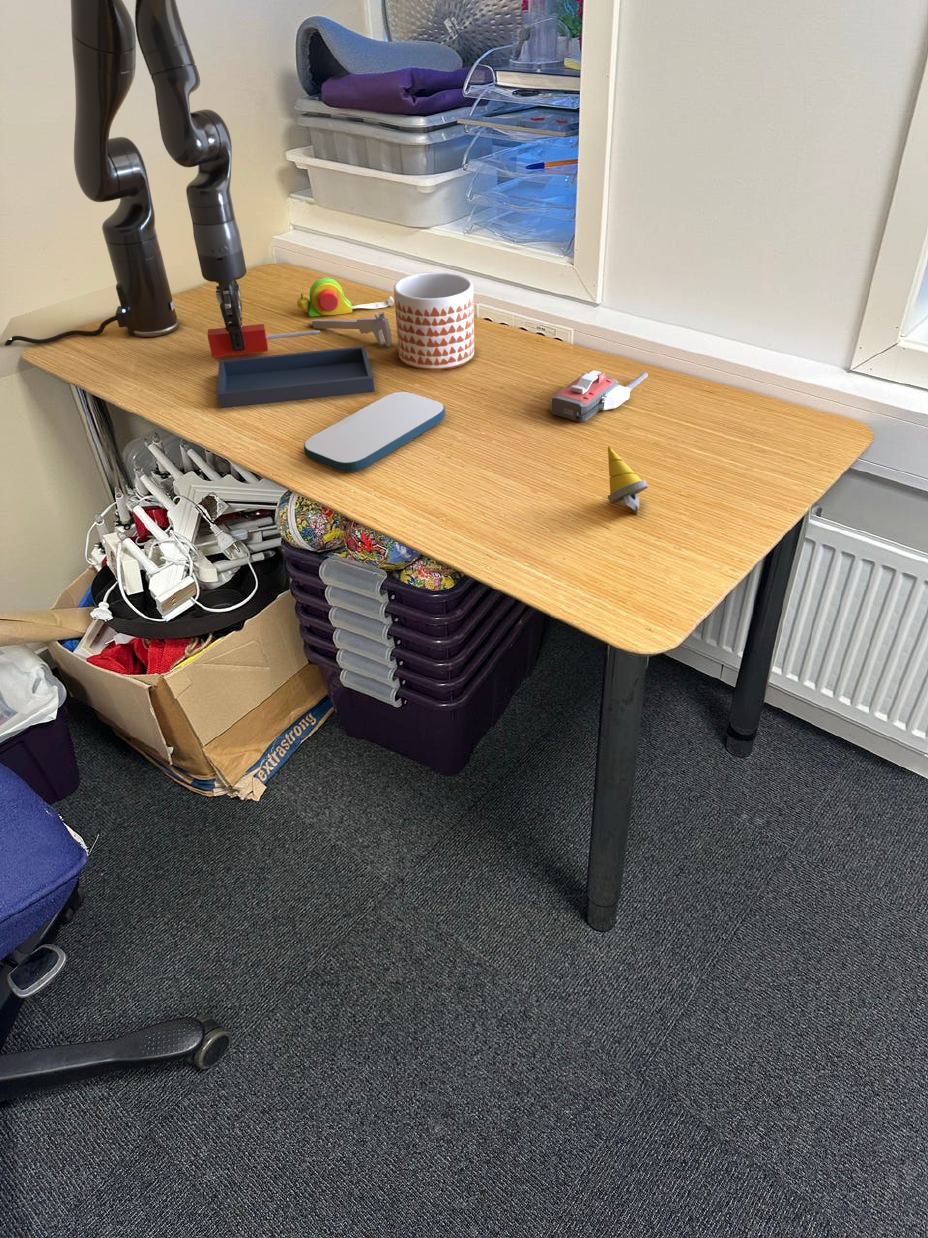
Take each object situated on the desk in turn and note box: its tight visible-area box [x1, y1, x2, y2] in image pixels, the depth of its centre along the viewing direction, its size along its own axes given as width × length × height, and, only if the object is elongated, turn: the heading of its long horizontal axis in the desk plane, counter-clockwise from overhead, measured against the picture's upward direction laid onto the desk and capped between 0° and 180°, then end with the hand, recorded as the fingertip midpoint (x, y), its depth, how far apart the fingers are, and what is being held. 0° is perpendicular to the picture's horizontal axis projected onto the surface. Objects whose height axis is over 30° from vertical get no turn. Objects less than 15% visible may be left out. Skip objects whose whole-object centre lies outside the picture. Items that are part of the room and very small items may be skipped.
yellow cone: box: [607, 446, 649, 515], centre depth 116 cm, size 5×5×10 cm
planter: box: [393, 271, 475, 371], centre depth 153 cm, size 14×14×13 cm
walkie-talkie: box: [550, 369, 648, 423], centre depth 141 cm, size 9×4×20 cm
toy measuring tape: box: [296, 277, 395, 317], centre depth 174 cm, size 6×20×7 cm, turn 104°
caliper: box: [308, 311, 393, 347], centre depth 164 cm, size 20×1×6 cm, turn 54°
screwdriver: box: [206, 323, 321, 358], centre depth 158 cm, size 20×3×4 cm, turn 101°
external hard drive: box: [303, 391, 446, 473], centre depth 134 cm, size 24×12×2 cm, turn 142°
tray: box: [216, 345, 376, 409], centre depth 149 cm, size 26×14×3 cm, turn 101°
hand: (239, 345), depth 158 cm, fingers closed on screwdriver, 3 cm apart
